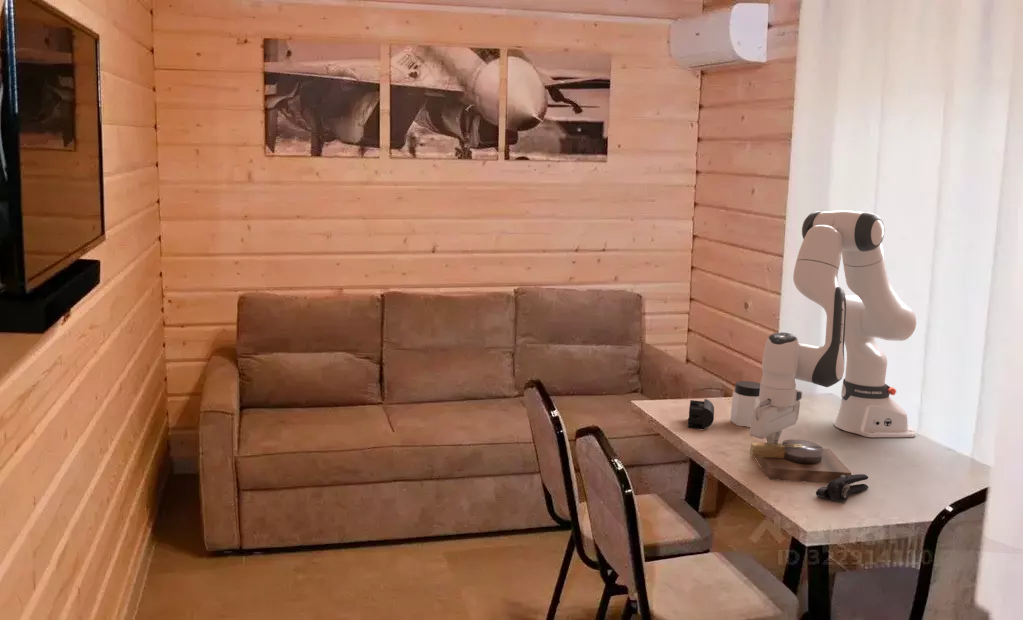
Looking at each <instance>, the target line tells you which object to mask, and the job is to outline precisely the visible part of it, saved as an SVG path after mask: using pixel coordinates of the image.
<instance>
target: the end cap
mask: <svg viewBox="0 0 1023 620" xmlns="http://www.w3.org/2000/svg"><path fill="white" fill-rule="evenodd" d="M688 408H689V409H688V420H687V421H688V422H687V429H691V428H692V429H693V430H700V429H704V430H706V429H708V428H710V426H711V425H713V423H714V420H715V406H714V404H713V402H712V401H710V400H709V399H706V398H704V400H703V401H702V400H693V399H691V400H690V402H689V407H688Z"/></svg>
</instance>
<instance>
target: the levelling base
mask: <svg viewBox="0 0 1023 620" xmlns="http://www.w3.org/2000/svg"><path fill="white" fill-rule="evenodd" d="M755 458H756V459H757V460H756V459H755ZM754 459H755V460H756V462H757V461H758V462H757V464H758V463H759V464H760V465H759V464H758V465H759V467H760V466H761V467H760V468H761V470H762V469H763V470H762V471H763V473H764V475H765V476H766V478H767V477H768V478H767V479H768V480H770V481H784V480H790V481H789V482H801V481H806V482H805V483H819V484H820V483H822V484H828V483H829V482H830V481H832V480H835V479H837V478H840V477H841V475H845V476H848V475H852V471H851V470H849V468H848V467H847V466H846V465H845V464H844V463H843V461H841V459H839V457H838V456H837V455H836V454H835V452H833V450H832V449H831V448H823V452H822V460H821V462H819V463H815V464H804V463H797V462H793V461H789V460H787V459H785V458H770V457H754Z"/></svg>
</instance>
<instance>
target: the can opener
mask: <svg viewBox="0 0 1023 620" xmlns="http://www.w3.org/2000/svg"><path fill="white" fill-rule="evenodd" d="M868 479H869V476H868V475H867V474H865V473H858V474H851V475H848V476H845V475H841V477H840V478H837V479H835V480H832V481H830V482H829V483H827V485H826V486H820V487H819V488H817V489H816V492H815V495H816V496H817V497H820V498H824V499H830V500H832V501H834V502H837V501H838V503H840V502H846V501H847V500H848V495H850V494H852V493H861V492H863V491H867V489H868V488H869V486H868V485H867V484H866V483H858V482H863V481H866V480H868ZM854 483H857V484H854Z"/></svg>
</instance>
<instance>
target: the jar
mask: <svg viewBox="0 0 1023 620" xmlns="http://www.w3.org/2000/svg"><path fill="white" fill-rule="evenodd" d="M759 393H760V382H757V381H756V382H755V381H751V380H750V381H749V380H740V381H739V380H738V381H736V382H735V385H734V390H733V391H732V399H731V400H732V401H731V410H730V419H729V421H730V422H731V421H732V422H733V423H732V422H731V423H732V424H734V423H735V424H736V426H737V425H740V426H739V427H741V426H748V427H747V428H749V427H751V420H752V415H753V411H754V409H755V408H756V407H758V406H759V403H760V401H759ZM735 424H734V425H735Z"/></svg>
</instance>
